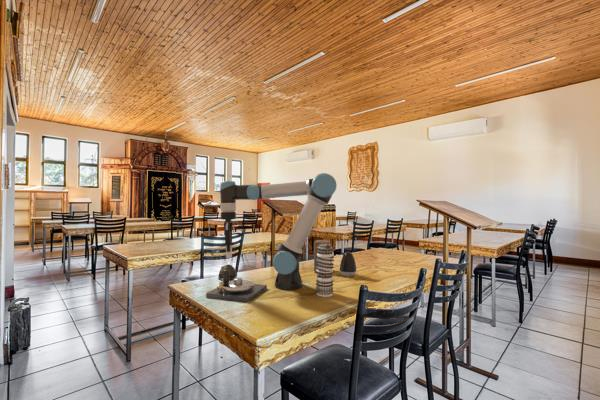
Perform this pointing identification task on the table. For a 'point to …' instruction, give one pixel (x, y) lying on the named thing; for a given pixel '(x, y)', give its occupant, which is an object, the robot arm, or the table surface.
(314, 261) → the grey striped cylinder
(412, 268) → the table surface
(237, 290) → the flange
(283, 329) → the table surface
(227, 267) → the fossil
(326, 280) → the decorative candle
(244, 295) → the clock base
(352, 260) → the dark grey tapered dome
